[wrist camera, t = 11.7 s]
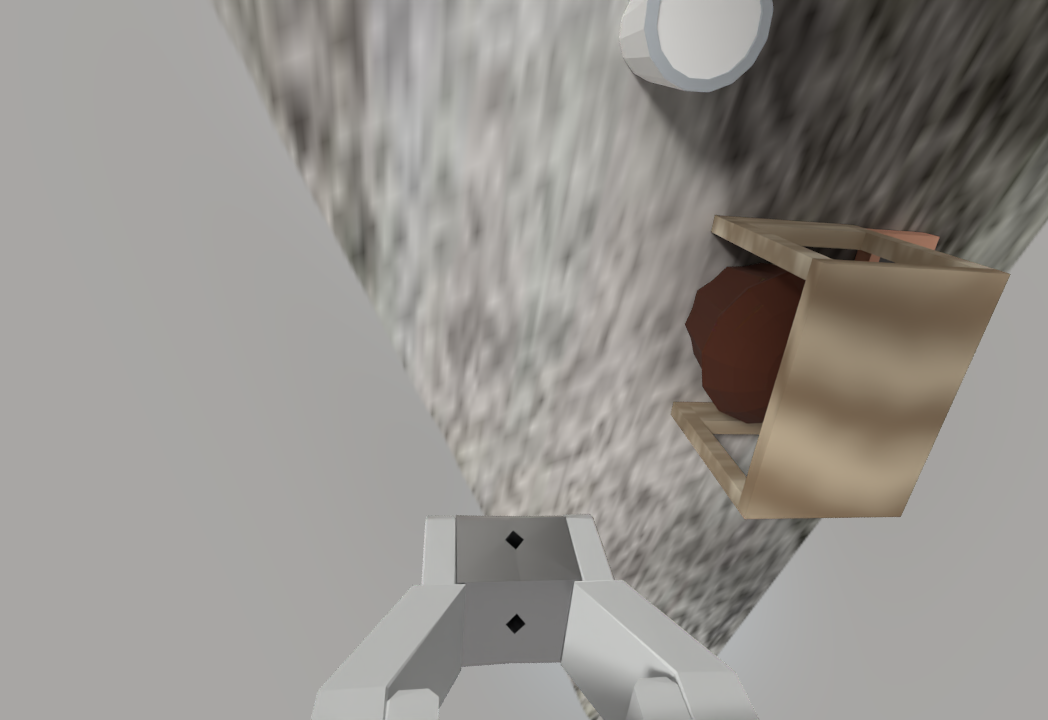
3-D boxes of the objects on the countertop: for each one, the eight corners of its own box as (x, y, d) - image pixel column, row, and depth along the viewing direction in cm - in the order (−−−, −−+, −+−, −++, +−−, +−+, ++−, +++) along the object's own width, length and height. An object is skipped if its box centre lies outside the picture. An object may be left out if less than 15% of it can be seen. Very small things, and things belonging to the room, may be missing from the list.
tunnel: (714, 215, 40) (823, 263, 29) (853, 224, 42) (1010, 274, 30) (670, 414, 47) (744, 518, 35) (791, 416, 49) (900, 516, 37)
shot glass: (715, 85, 37) (771, 83, 31) (612, 101, 36) (647, 102, 30) (717, -41, 34) (778, -73, 28) (605, -25, 34) (641, -54, 27)
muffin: (798, 221, 41) (896, 255, 32) (822, 346, 46) (912, 406, 37) (648, 286, 42) (702, 338, 33) (686, 403, 47) (743, 475, 38)
